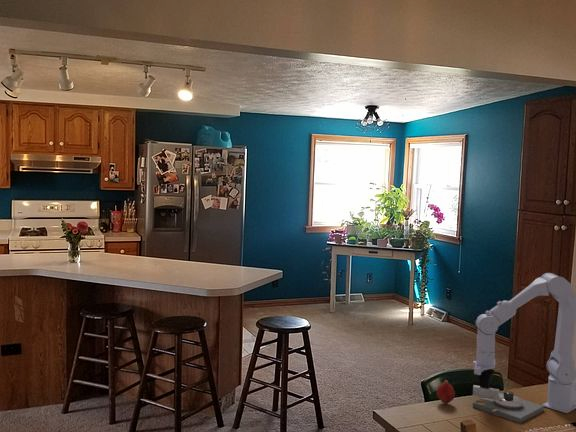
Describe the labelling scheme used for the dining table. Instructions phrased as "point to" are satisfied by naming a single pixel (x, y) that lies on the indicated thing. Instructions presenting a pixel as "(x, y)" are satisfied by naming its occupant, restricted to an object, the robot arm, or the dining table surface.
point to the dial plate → (511, 414)
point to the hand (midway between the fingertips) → (484, 390)
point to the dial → (499, 397)
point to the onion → (445, 392)
